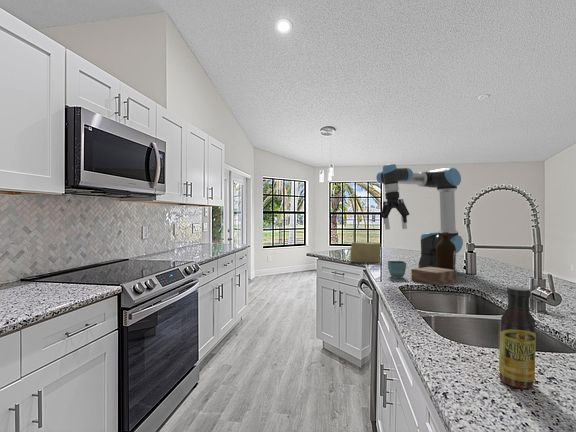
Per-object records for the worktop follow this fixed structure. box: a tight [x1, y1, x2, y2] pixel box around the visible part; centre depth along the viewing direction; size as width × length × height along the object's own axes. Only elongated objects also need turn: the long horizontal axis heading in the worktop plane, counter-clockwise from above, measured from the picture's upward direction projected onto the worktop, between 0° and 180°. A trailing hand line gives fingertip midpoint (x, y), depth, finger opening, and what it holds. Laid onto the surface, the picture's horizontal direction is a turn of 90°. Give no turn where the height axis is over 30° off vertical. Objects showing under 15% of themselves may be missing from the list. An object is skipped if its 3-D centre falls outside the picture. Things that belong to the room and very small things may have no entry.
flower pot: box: [387, 260, 407, 279], centre depth 196 cm, size 9×9×9 cm
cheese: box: [350, 242, 382, 263], centre depth 264 cm, size 22×10×15 cm, turn 79°
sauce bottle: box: [498, 285, 537, 389], centre depth 72 cm, size 6×6×20 cm
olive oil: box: [436, 232, 457, 270], centre depth 200 cm, size 11×11×25 cm
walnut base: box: [410, 267, 458, 286], centre depth 185 cm, size 16×16×6 cm
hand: (395, 229), depth 195 cm, fingers open, 13 cm apart
